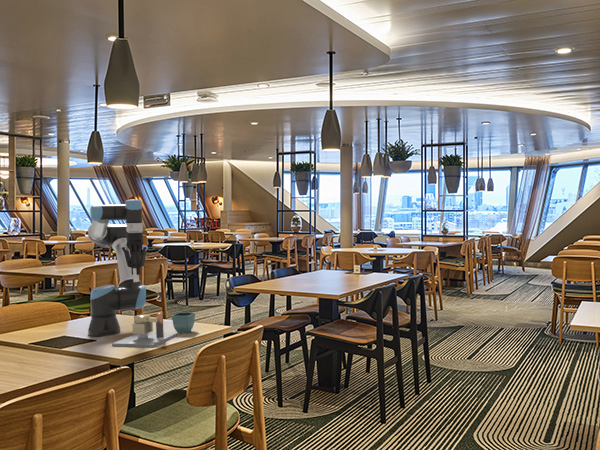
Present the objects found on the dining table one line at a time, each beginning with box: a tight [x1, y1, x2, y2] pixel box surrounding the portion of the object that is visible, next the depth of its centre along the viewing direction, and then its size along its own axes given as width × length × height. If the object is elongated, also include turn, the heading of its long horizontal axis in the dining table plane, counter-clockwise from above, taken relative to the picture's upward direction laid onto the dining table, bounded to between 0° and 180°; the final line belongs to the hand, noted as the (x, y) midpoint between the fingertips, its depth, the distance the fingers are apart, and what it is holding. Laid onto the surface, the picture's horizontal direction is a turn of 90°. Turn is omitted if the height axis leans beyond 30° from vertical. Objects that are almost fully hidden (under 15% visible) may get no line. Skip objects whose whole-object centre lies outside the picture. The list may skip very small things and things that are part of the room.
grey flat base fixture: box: [111, 315, 177, 348], centre depth 256 cm, size 20×22×11 cm
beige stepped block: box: [131, 312, 164, 335], centre depth 255 cm, size 14×7×9 cm, turn 69°
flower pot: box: [171, 311, 196, 334], centre depth 273 cm, size 9×9×9 cm
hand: (136, 281), depth 265 cm, fingers closed
